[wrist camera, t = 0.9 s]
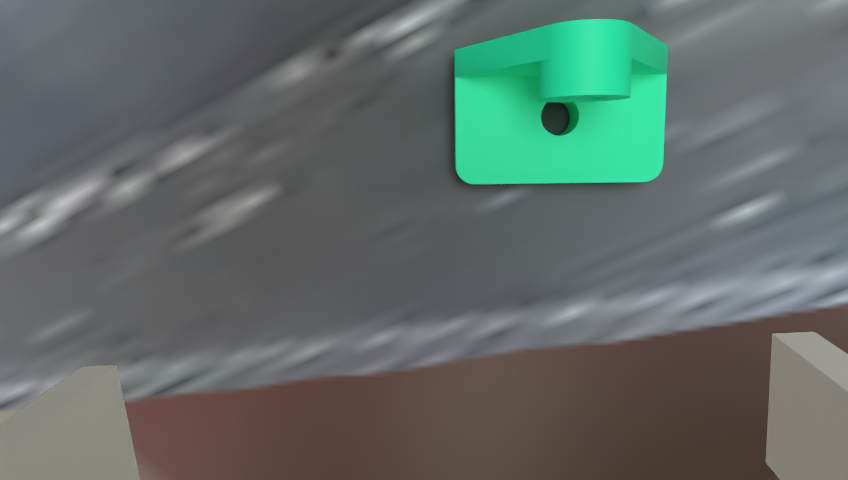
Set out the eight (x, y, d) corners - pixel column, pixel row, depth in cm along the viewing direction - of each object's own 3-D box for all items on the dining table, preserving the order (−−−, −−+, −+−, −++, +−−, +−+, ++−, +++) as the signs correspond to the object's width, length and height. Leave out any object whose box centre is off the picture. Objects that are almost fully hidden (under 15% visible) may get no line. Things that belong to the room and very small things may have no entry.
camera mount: (454, 182, 39) (462, 193, 28) (453, 56, 38) (461, 21, 27) (647, 179, 38) (723, 190, 28) (651, 53, 37) (733, 16, 27)
